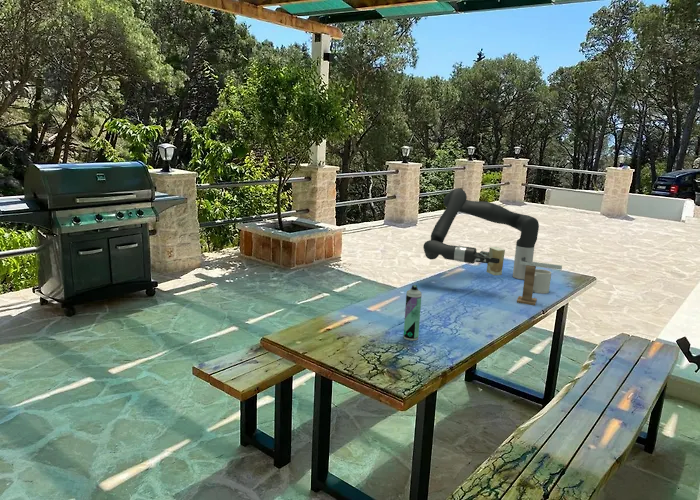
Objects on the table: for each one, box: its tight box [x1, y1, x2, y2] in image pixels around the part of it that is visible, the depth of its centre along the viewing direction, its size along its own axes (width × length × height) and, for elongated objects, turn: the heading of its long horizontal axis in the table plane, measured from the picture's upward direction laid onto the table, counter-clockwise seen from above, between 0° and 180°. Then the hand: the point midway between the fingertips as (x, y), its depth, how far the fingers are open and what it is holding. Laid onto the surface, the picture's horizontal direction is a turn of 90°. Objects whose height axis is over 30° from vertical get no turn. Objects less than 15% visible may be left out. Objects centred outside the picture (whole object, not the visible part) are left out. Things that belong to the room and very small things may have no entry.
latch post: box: [516, 265, 538, 306], centre depth 247 cm, size 8×8×17 cm
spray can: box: [403, 284, 422, 342], centre depth 197 cm, size 6×6×20 cm
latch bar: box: [519, 257, 563, 271], centre depth 243 cm, size 2×18×3 cm, turn 67°
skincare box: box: [486, 246, 506, 276], centre depth 253 cm, size 6×4×12 cm
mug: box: [533, 268, 552, 294], centre depth 265 cm, size 11×10×10 cm
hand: (500, 259), depth 252 cm, fingers closed on skincare box, 7 cm apart
